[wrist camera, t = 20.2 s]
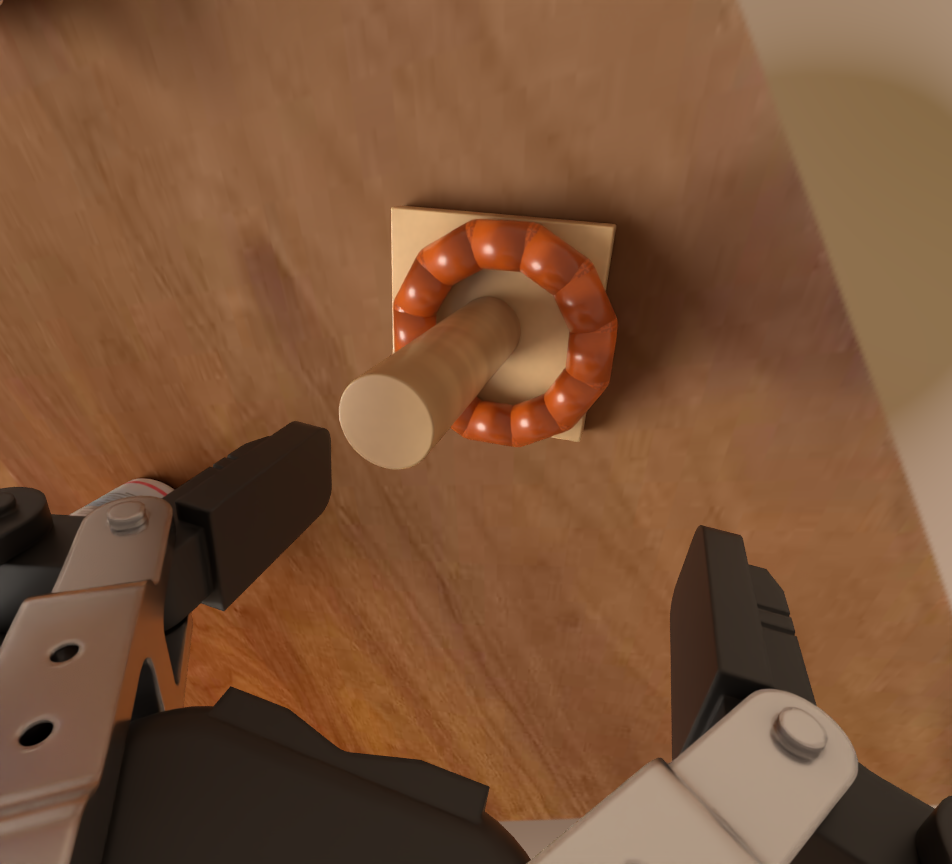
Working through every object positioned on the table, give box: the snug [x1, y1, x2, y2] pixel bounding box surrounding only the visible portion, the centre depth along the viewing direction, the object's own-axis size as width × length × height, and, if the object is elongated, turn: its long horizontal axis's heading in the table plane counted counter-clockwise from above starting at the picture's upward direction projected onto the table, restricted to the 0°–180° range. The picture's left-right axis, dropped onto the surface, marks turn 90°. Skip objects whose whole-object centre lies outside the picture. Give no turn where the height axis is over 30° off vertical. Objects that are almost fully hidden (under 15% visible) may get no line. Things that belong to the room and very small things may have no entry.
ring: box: [393, 219, 618, 447], centre depth 22 cm, size 9×9×2 cm
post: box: [339, 206, 616, 469], centre depth 19 cm, size 9×9×11 cm
